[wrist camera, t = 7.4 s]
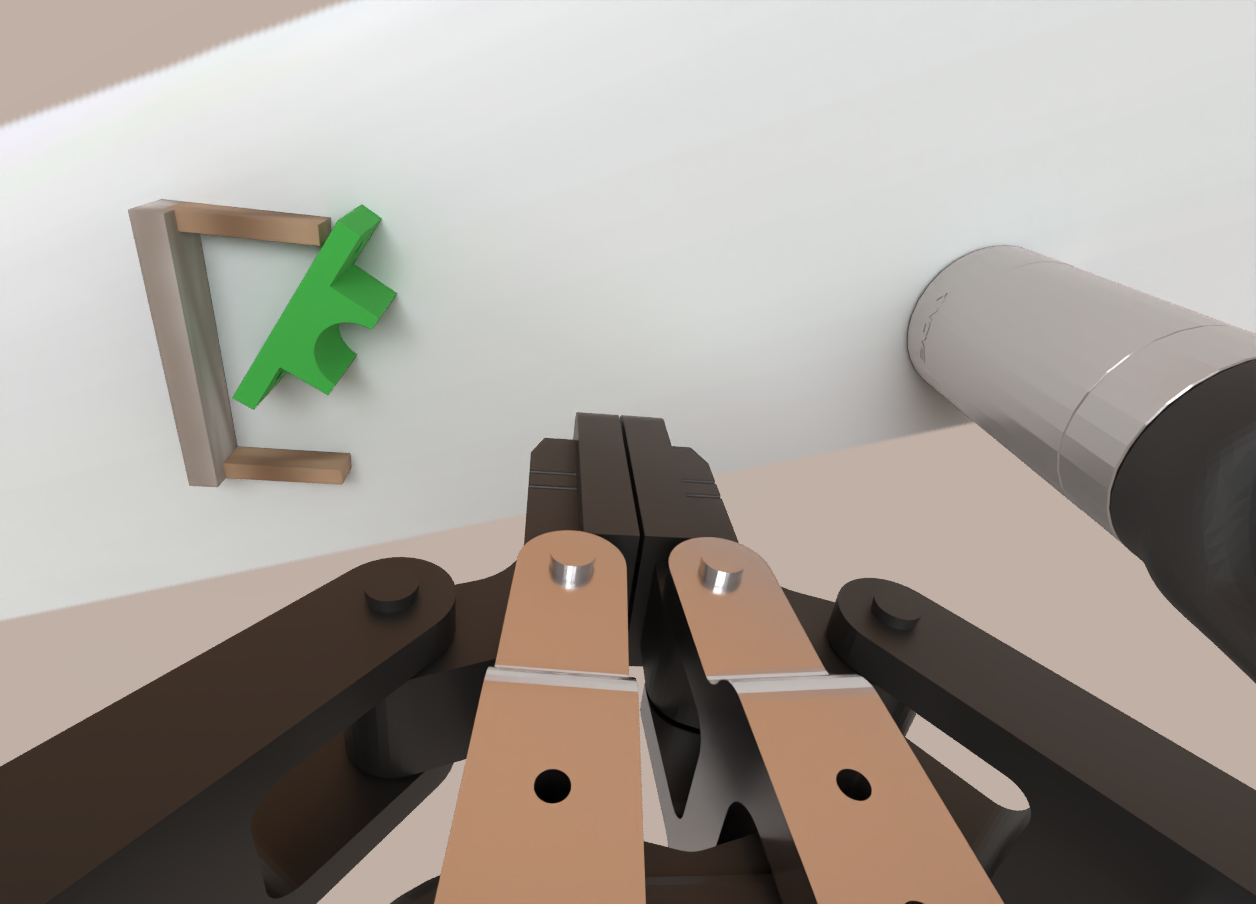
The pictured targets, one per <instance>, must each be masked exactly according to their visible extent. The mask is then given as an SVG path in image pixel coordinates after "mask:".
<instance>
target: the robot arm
mask: <svg viewBox="0 0 1256 904" xmlns="http://www.w3.org/2000/svg"><path fill="white" fill-rule="evenodd" d="M908 350H909V354H910V359H911V361H912V363H913V365H914V367H915V369H916V371H917V372H918V373H919V375H920V376H921V377H922V378H923V379H924V380H925V381H926V382H927V383H929V384H930V385H931V386H932V387H933V388H935V389H936V390H937V391H938V392H939V393H941V394H942V395H943V396H944V397H945V398H947V399H948V400H949V401H950V402H951V403H953V404H954V405H955V406H956V407H957V408H958V409H959V410H961V411H962V412H963V413H964V414H965V415H967V416H968V417H969V418H970V419H972V420H973V421H974V422H975V423H976V424H978V425H979V426H980V427H981V428H982V429H984V430H985V431H986V432H987V433H989V434H990V435H991V436H992V437H993V438H995V439H996V440H997V441H998V442H1000V443H1001V444H1002V445H1003V446H1004V447H1006V448H1007V449H1008V450H1009V451H1010V452H1012V453H1013V454H1014V455H1015V456H1017V457H1018V458H1019V459H1020V460H1021V461H1023V462H1024V463H1025V464H1026V465H1027V466H1029V467H1030V468H1031V469H1032V470H1033V471H1035V472H1036V473H1037V474H1038V475H1039V476H1041V477H1042V478H1043V479H1044V480H1046V481H1047V482H1048V483H1049V484H1051V485H1052V486H1053V487H1054V488H1055V489H1056V490H1058V491H1059V492H1060V493H1061V494H1062V495H1064V496H1065V497H1066V498H1067V499H1069V500H1070V501H1071V502H1072V503H1073V504H1075V505H1076V506H1077V507H1078V508H1080V509H1081V510H1082V511H1084V512H1085V513H1086V514H1087V515H1088V516H1090V517H1091V518H1092V519H1093V520H1094V521H1096V522H1097V523H1098V524H1099V525H1101V526H1102V527H1103V528H1104V529H1106V530H1107V531H1108V532H1109V533H1110V534H1111V535H1113V536H1114V537H1115V538H1116V539H1117V540H1119V541H1120V542H1121V543H1122V544H1123V545H1124V546H1125V547H1127V548H1128V549H1129V550H1130V551H1131V552H1132V553H1133V554H1135V555H1136V556H1137V557H1138V558H1140V559H1141V560H1142V561H1143V562H1144V564H1145V566H1146V568H1147V570H1148V572H1149V574H1150V576H1151V578H1152V580H1153V581H1154V583H1155V584H1156V586H1157V587H1158V589H1159V590H1160V591H1161V593H1162V594H1163V595H1164V596H1165V597H1166V598H1167V600H1168V601H1169V602H1170V603H1171V604H1172V605H1173V606H1174V607H1175V608H1176V609H1177V610H1178V611H1179V612H1180V613H1181V614H1182V615H1183V616H1184V617H1185V618H1187V619H1188V620H1189V621H1190V622H1191V623H1192V624H1193V625H1194V626H1195V627H1197V628H1198V629H1199V630H1200V631H1201V632H1202V633H1203V634H1204V635H1205V636H1206V637H1208V638H1209V639H1210V640H1211V641H1212V642H1213V643H1214V644H1215V645H1216V646H1217V647H1218V648H1219V649H1220V650H1221V651H1223V652H1224V653H1225V654H1226V655H1227V656H1228V657H1229V658H1230V659H1231V660H1232V661H1233V662H1234V663H1235V664H1236V665H1237V666H1238V667H1239V668H1240V669H1241V670H1242V671H1243V672H1244V673H1246V674H1247V675H1248V676H1249V677H1250V678H1251V679H1252V680H1253V681H1254V682H1255V683H1256V334H1255V333H1252V332H1250V331H1247V330H1243V329H1240V328H1238V327H1235V326H1232V325H1229V324H1227V323H1224V322H1221V321H1219V320H1216V319H1213V318H1211V317H1208V316H1205V315H1202V314H1200V313H1197V312H1194V311H1192V310H1189V309H1186V308H1184V307H1181V306H1178V305H1175V304H1173V303H1170V302H1167V301H1165V300H1162V299H1159V298H1156V297H1154V296H1151V295H1148V294H1146V293H1143V292H1140V291H1138V290H1135V289H1132V288H1129V287H1127V286H1124V285H1121V284H1119V283H1116V282H1113V281H1110V280H1108V279H1105V278H1102V277H1100V276H1097V275H1094V274H1092V273H1089V272H1086V271H1083V270H1081V269H1078V268H1075V267H1073V266H1071V265H1068V264H1065V263H1063V262H1060V261H1057V260H1054V259H1052V258H1049V257H1046V256H1043V255H1041V254H1038V253H1035V252H1032V251H1030V250H1027V249H1024V248H1021V247H1015V246H1007V245H1003V246H993V247H987V248H984V249H981V250H977V251H974V252H972V253H970V254H968V255H966V256H964V257H962V258H960V259H958V260H956V261H955V262H954V263H952V264H951V265H950V266H948V267H947V268H946V269H944V270H943V271H942V272H941V273H940V274H939V275H938V276H937V277H936V278H935V279H934V280H933V281H932V282H931V283H930V284H929V286H928V287H927V289H926V290H925V292H924V293H923V295H922V296H921V298H920V299H919V301H918V303H917V305H916V307H915V310H914V312H913V314H912V317H911V321H910V325H909V330H908ZM629 666H643V668H644V675H645V685H644V690H643V695H642V701H641V709H640V710H641V717H642V723H643V727H644V731H645V736H646V741H647V746H648V750H649V754H650V759H651V763H652V768H653V773H654V778H655V782H656V787H657V792H658V796H659V801H660V805H661V810H662V814H663V819H664V823H665V828H666V834H667V840H668V847H664V846H661V845H657V844H653V843H648V842H645V841H644V840H643V811H642V784H641V756H640V728H639V702H638V686H637V681H636V678H633V677H629ZM916 713H917V714H918V715H920V716H921V717H923V718H924V719H926V720H927V721H928V722H930V723H931V724H933V725H934V726H936V727H937V728H938V729H940V730H941V731H943V732H944V733H946V734H947V735H948V736H950V737H951V738H953V739H954V740H956V741H957V742H959V743H960V744H961V745H963V746H964V747H966V748H967V749H969V750H970V751H971V752H973V753H974V754H976V755H977V756H978V757H980V758H981V759H983V760H984V761H985V762H987V763H988V764H990V765H991V766H993V767H994V768H996V769H997V770H998V771H1000V772H1001V773H1003V774H1004V775H1005V776H1007V777H1008V778H1009V779H1011V780H1012V781H1013V782H1014V783H1015V784H1016V785H1017V786H1018V787H1019V788H1020V789H1021V791H1022V792H1023V793H1024V795H1025V796H1026V798H1027V800H1028V802H1029V805H1030V808H1028V809H1026V810H1023V811H1014V810H1010V809H1006V808H1004V807H1001V806H1000V805H997V804H996V803H994V802H993V801H992V800H990V799H989V798H987V797H986V796H985V795H983V794H982V793H981V792H979V791H978V790H977V789H975V788H974V787H972V786H971V785H970V784H968V783H967V782H966V781H964V780H963V779H962V778H960V777H959V776H957V775H956V774H955V773H953V772H952V771H951V770H949V769H948V768H947V767H945V766H944V765H942V764H941V763H940V762H938V761H937V760H936V759H934V758H933V757H931V756H930V755H929V754H927V753H926V752H925V751H923V750H922V749H921V748H919V747H918V746H916V745H915V744H914V743H912V742H911V741H910V740H908V739H907V738H906V737H905V736H906V734H907V732H908V730H909V727H910V725H911V723H912V721H913V719H914V717H915V715H916ZM464 759H466V763H465V767H464V772H463V776H462V781H461V785H460V790H459V794H458V799H457V803H456V808H455V812H454V817H453V821H452V826H451V830H450V835H449V839H448V844H447V848H446V853H445V858H444V862H443V867H442V871H441V875H440V876H437V877H435V878H432V879H430V880H428V881H426V882H424V883H422V884H421V885H419V886H417V887H415V888H413V889H412V890H410V891H408V892H407V893H405V894H403V895H401V896H400V897H398V898H397V899H396V900H394V901H393V902H392V903H390V904H1256V790H1254V789H1252V788H1251V787H1249V786H1247V785H1246V784H1244V783H1242V782H1241V781H1239V780H1237V779H1235V778H1234V777H1232V776H1230V775H1229V774H1227V773H1225V772H1223V771H1222V770H1220V769H1218V768H1217V767H1215V766H1213V765H1212V764H1210V763H1208V762H1206V761H1205V760H1203V759H1201V758H1199V757H1198V756H1196V755H1194V754H1193V753H1191V752H1189V751H1188V750H1186V749H1184V748H1182V747H1181V746H1179V745H1177V744H1176V743H1174V742H1172V741H1171V740H1169V739H1167V738H1165V737H1164V736H1162V735H1160V734H1158V733H1157V732H1155V731H1153V730H1151V729H1150V728H1148V727H1147V726H1145V725H1143V724H1142V723H1139V722H1138V721H1136V720H1135V719H1133V718H1131V717H1130V716H1128V715H1126V714H1124V713H1123V712H1121V711H1119V710H1118V709H1116V708H1114V707H1113V706H1111V705H1109V704H1107V703H1106V702H1104V701H1102V700H1101V699H1098V698H1097V697H1095V696H1094V695H1092V694H1090V693H1089V692H1087V691H1085V690H1083V689H1082V688H1080V687H1078V686H1077V685H1075V684H1073V683H1072V682H1070V681H1068V680H1066V679H1065V678H1063V677H1061V676H1060V675H1058V674H1056V673H1054V672H1053V671H1051V670H1049V669H1048V668H1046V667H1044V666H1042V665H1041V664H1039V663H1037V662H1035V661H1034V660H1032V659H1031V658H1029V657H1027V656H1025V655H1024V654H1022V653H1020V652H1019V651H1017V650H1015V649H1014V648H1012V647H1010V646H1008V645H1007V644H1005V643H1003V642H1002V641H1000V640H998V639H996V638H995V637H993V636H991V635H990V634H988V633H986V632H984V631H983V630H981V629H979V628H978V627H976V626H974V625H973V624H971V623H969V622H967V621H966V620H964V619H962V618H961V617H959V616H957V615H955V614H953V613H952V612H950V611H949V610H947V609H945V608H944V607H942V606H940V605H938V604H937V603H935V602H933V601H932V600H930V599H928V598H926V597H925V596H923V595H921V594H920V593H918V592H916V591H914V590H912V589H910V588H908V587H906V586H903V585H901V584H898V583H895V582H892V581H888V580H884V579H877V578H862V579H856V580H853V581H850V582H848V583H847V584H845V585H844V586H843V587H842V588H841V590H840V592H839V594H838V596H837V599H836V602H831V601H828V600H824V599H820V598H816V597H812V596H808V595H805V594H801V593H798V592H794V591H791V590H788V589H786V588H783V587H781V586H780V585H779V583H778V581H777V579H776V577H775V576H774V574H773V572H772V570H771V568H770V567H769V565H768V564H767V562H766V561H765V560H764V559H763V558H762V557H761V556H760V555H758V554H757V553H756V552H754V551H753V550H751V549H750V548H748V547H746V546H744V545H742V544H739V542H738V540H737V537H736V535H735V532H734V530H733V527H732V524H731V522H730V519H729V516H728V514H727V511H726V509H725V506H724V503H723V501H722V499H720V493H719V491H718V488H717V485H716V484H715V480H714V478H713V475H712V472H711V470H710V467H709V465H708V463H707V462H706V461H705V460H704V459H703V458H702V457H700V456H699V455H698V454H697V453H696V452H695V451H694V450H693V449H692V448H689V447H674V446H671V443H670V439H669V436H668V433H667V430H666V426H665V423H664V420H663V419H662V418H650V417H637V416H623V415H621V417H620V419H619V416H618V415H608V414H594V413H580V412H577V413H576V418H575V427H574V437H573V440H568V439H553V438H544V439H543V440H542V441H541V442H540V443H539V444H538V445H537V447H536V448H535V449H534V450H533V451H532V452H531V460H530V474H529V487H528V500H527V514H526V527H525V541H524V546H523V547H522V549H521V550H520V552H519V555H518V557H517V560H516V561H515V562H514V563H513V564H512V565H511V566H510V567H508V568H507V569H506V570H504V571H502V572H500V573H498V574H496V575H494V576H491V577H488V578H485V579H481V580H477V581H472V582H467V583H462V584H457V585H454V582H453V580H452V578H451V577H450V575H449V574H448V573H447V572H446V571H445V570H443V569H442V568H440V567H439V566H437V565H435V564H433V563H431V562H428V561H425V560H421V559H416V558H407V557H395V558H394V557H392V558H385V559H380V560H376V561H371V562H368V563H366V564H363V565H360V566H358V567H356V568H354V569H352V570H350V571H348V572H347V573H345V574H343V575H341V576H340V577H338V578H336V579H335V580H333V581H331V582H329V583H327V584H326V585H323V586H322V587H320V588H318V589H316V590H315V591H313V592H311V593H309V594H307V595H306V596H304V597H302V598H300V599H299V600H297V601H295V602H293V603H292V604H290V605H288V606H286V607H284V608H283V609H281V610H279V611H277V612H275V613H274V614H272V615H270V616H268V617H266V618H265V619H263V620H261V621H259V622H258V623H256V624H254V625H252V626H251V627H249V628H247V629H245V630H243V631H242V632H240V633H238V634H236V635H234V636H233V637H231V638H229V639H227V640H225V641H224V642H222V643H220V644H218V645H217V646H215V647H213V648H211V649H209V650H208V651H206V652H204V653H202V654H201V655H199V656H197V657H195V658H193V659H192V660H190V661H188V662H186V663H184V664H183V665H181V666H179V667H177V668H176V669H174V670H172V671H170V672H168V673H167V674H165V675H163V676H161V677H159V678H158V679H156V680H154V681H152V682H151V683H149V684H147V685H145V686H143V687H142V688H140V689H138V690H136V691H134V692H133V693H131V694H129V695H127V696H126V697H124V698H122V699H120V700H119V701H117V702H115V703H113V704H111V705H110V706H108V707H106V708H104V709H103V710H101V711H99V712H97V713H95V714H93V715H92V716H90V717H88V718H86V719H85V720H83V721H81V722H79V723H77V724H76V725H74V726H72V727H70V728H68V729H67V730H65V731H63V732H61V733H60V734H58V735H56V736H54V737H53V738H51V739H49V740H47V741H45V742H44V743H42V744H40V745H38V746H37V747H35V748H33V749H31V750H29V751H27V752H26V753H24V754H22V755H20V756H19V757H17V758H15V759H13V760H12V761H10V762H8V763H6V764H4V765H3V766H1V767H0V904H316V903H317V902H318V901H319V900H321V899H322V898H323V897H324V896H325V895H326V894H327V893H328V892H329V891H330V890H331V889H332V888H333V887H334V886H335V885H336V884H337V883H338V882H339V881H340V880H341V879H342V878H343V877H344V876H345V875H346V874H348V873H349V871H351V870H352V869H353V868H354V867H355V866H356V865H357V864H358V863H359V862H360V861H361V860H362V859H363V858H364V857H365V856H366V855H367V854H368V853H369V852H370V851H371V850H372V849H373V848H374V847H375V846H376V845H377V844H379V843H380V842H381V841H382V840H383V839H384V838H385V837H386V836H387V835H388V834H389V833H390V832H391V831H392V830H393V829H394V828H395V827H396V826H397V825H398V824H399V823H400V822H401V821H403V819H405V818H406V817H407V816H408V815H409V814H410V813H411V812H412V811H413V810H414V809H415V808H416V807H417V806H418V805H419V804H420V803H421V802H422V801H423V800H424V799H425V798H426V797H427V796H428V795H429V794H431V793H432V792H433V790H435V789H436V788H437V787H438V786H439V785H440V783H442V781H443V780H444V779H445V778H446V776H447V775H448V773H449V771H450V770H451V768H452V765H453V763H454V762H457V761H461V760H464Z"/></svg>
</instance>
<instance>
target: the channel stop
mask: <svg viewBox="0 0 1256 904" xmlns="http://www.w3.org/2000/svg"><path fill="white" fill-rule="evenodd" d="M128 213H129V217H130V221H131V226H132V230H133V235H134V239H135V244H136V248H137V253H138V257H139V262H140V266H141V271H142V275H143V280H144V284H145V289H146V293H147V298H148V302H149V307H150V311H151V316H152V320H153V325H154V329H155V333H156V338H157V342H158V347H159V351H160V356H161V360H162V365H163V369H164V374H165V378H166V383H167V387H168V392H169V396H170V401H171V405H172V410H173V414H174V419H175V423H176V428H177V432H178V437H179V441H180V445H181V450H182V454H183V459H184V463H185V468H186V472H187V477H188V481H189V486H204V487H219V485H220V484H221V483H222V482H223V480H224V479H225V478H233V479H251V480H269V481H287V482H305V483H323V484H343V482H344V480H345V478H346V477H347V475H348V473H349V471H350V469H351V458H350V453H333V452H317V451H301V450H285V449H268V448H252V447H237V443H236V437H235V432H234V426H233V420H232V415H231V409H230V403H229V398H228V392H227V386H226V381H225V375H224V369H223V364H222V358H221V353H220V347H219V341H218V336H217V330H216V324H215V319H214V313H213V307H212V302H211V296H210V290H209V285H208V279H207V273H206V268H205V262H204V256H203V251H202V245H201V240H200V234H209V235H219V236H229V237H239V238H248V239H258V240H268V241H278V242H287V243H297V244H307V245H317V246H320V245H322V244H323V243H325V242H326V240H327V238H328V236H329V235H330V233H331V223H330V217H320V216H311V215H302V214H293V213H283V212H274V211H265V210H256V209H247V208H237V207H228V206H219V205H210V204H201V203H191V202H182V201H173V200H164V199H161V200H158V201H154V202H151V203H148V204H145V205H141V206H138V207H135V208H132V209H129V210H128ZM199 233H200V234H199Z"/></svg>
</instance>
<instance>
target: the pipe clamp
mask: <svg viewBox="0 0 1256 904" xmlns="http://www.w3.org/2000/svg"><path fill="white" fill-rule="evenodd" d="M381 219H382V218H380V217H379V216H377V215H376V214H375V213H373V212H372V211H370V210H369V209H368V208H366V207H365V206H363V205H360V206H359V207H357V208H356V209H354V210H353V211H351V212H350V213H348V214H347V215H345V216H344V217H342V218H341V219H339V220H338V221H337V223H336V225H335V226H334V228H333V230H332V231H331V233H330V235H329V236H328V238H327V240H326V242H325V243H324V245H323V247H322V248H321V250H320V252H319V253H318V255H317V257H316V258H315V260H314V262H313V263H312V265H311V267H310V268H309V270H308V272H307V273H306V275H305V277H304V278H303V280H302V282H301V283H300V285H299V287H298V289H297V290H296V292H295V294H294V295H293V297H292V299H291V300H290V302H289V304H288V305H287V307H286V309H285V310H284V312H283V314H282V315H281V317H280V319H279V320H278V322H277V324H276V325H275V327H274V329H273V330H272V332H271V334H270V336H269V337H268V339H267V341H266V342H265V344H264V346H263V347H262V349H261V351H260V352H259V354H258V356H257V357H256V359H255V361H254V362H253V364H252V366H251V367H250V369H249V371H248V372H247V374H246V376H245V377H244V379H243V381H242V383H241V384H240V386H239V388H238V389H237V391H236V393H235V394H234V396H233V399H235V400H237V401H239V402H240V403H242V404H244V405H246V406H248V407H249V408H251V409H253V410H254V409H255V408H256V406H257V405H258V404H259V403H260V402H261V401H262V400H263V399H264V398H265V397H266V395H267V394H268V393H269V392H270V391H271V390H272V389H273V388H274V387H275V385H276V384H277V383H278V382H279V381H280V380H281V379H282V378H283V376H284V375H285V373H286V371H287V372H289V373H291V374H292V375H294V376H296V377H298V378H299V379H301V380H303V381H304V382H306V383H308V384H310V385H311V386H313V387H315V388H316V389H318V390H320V391H322V392H323V393H325V394H327V395H329V394H330V392H331V391H332V389H333V388H334V386H335V385H336V384H337V382H338V381H339V379H340V378H341V377H342V375H343V374H344V372H345V371H346V370H347V368H348V367H349V365H350V364H351V362H352V361H353V359H354V358H355V356H356V355H357V354H356V353H354V352H353V351H352V350H350V349H349V348H348V346H347V345H346V344H345V343H344V341H343V339H342V337H341V335H340V332H339V325H338V324H339V323H344V322H349V323H356V324H360V325H363V326H365V327H367V328H369V329H371V330H372V328H373V327H374V326H375V324H376V323H377V321H378V320H379V319H380V317H381V316H382V314H383V313H384V312H385V310H386V309H387V308H388V306H389V305H390V303H391V302H392V300H393V299H394V297H395V296H396V294H397V293H396V292H394V291H393V290H391V289H390V288H388V287H387V286H385V285H384V284H382V283H381V282H379V281H378V280H377V279H375V278H374V277H372V276H371V275H369V274H368V273H366V272H365V271H363V270H362V269H360V268H359V267H357V266H356V265H354V262H355V260H356V259H357V257H358V256H359V254H360V252H361V251H362V249H363V248H364V246H365V244H366V243H367V241H368V240H369V238H370V236H371V235H372V233H373V232H374V230H375V228H376V227H377V225H378V223H379V222H380V220H381Z"/></svg>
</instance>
